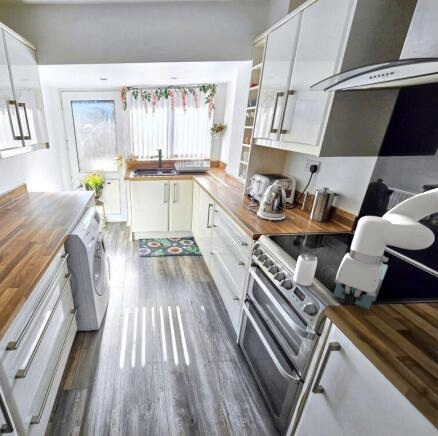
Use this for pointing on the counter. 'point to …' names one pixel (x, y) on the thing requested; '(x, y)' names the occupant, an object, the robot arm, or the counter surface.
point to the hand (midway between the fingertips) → (349, 302)
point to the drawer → (361, 300)
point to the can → (305, 269)
